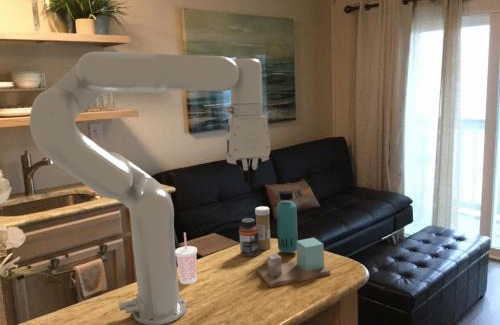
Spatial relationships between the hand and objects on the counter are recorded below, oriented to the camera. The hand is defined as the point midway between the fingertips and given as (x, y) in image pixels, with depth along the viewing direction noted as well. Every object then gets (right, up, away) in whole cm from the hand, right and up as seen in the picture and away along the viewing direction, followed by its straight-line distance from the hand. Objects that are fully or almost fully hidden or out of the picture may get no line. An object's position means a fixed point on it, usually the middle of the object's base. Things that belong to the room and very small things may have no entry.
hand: (248, 184), depth 110 cm
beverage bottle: (+12, -23, +29) cm, 39 cm away
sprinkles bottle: (+5, -22, +35) cm, 42 cm away
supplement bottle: (0, -24, +30) cm, 38 cm away
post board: (+12, -26, +14) cm, 32 cm away
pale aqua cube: (+18, -24, +16) cm, 34 cm away
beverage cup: (-17, -28, +13) cm, 35 cm away
